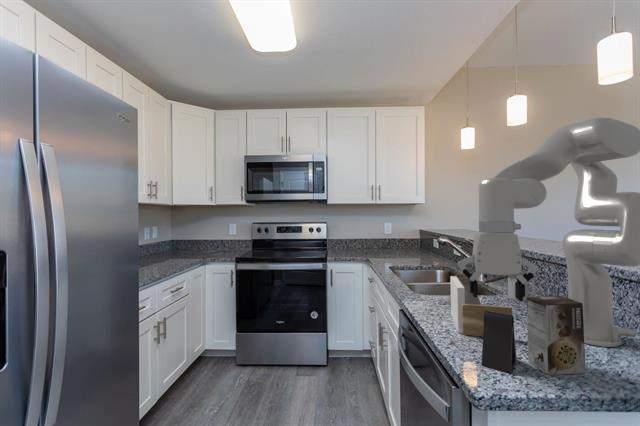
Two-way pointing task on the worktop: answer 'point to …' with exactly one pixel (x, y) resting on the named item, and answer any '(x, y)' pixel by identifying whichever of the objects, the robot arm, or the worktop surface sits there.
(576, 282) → the robot arm
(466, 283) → the coffee pot
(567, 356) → the coffee box
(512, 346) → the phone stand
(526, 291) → the cup
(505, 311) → the door
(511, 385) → the worktop surface
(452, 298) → the wall frame
